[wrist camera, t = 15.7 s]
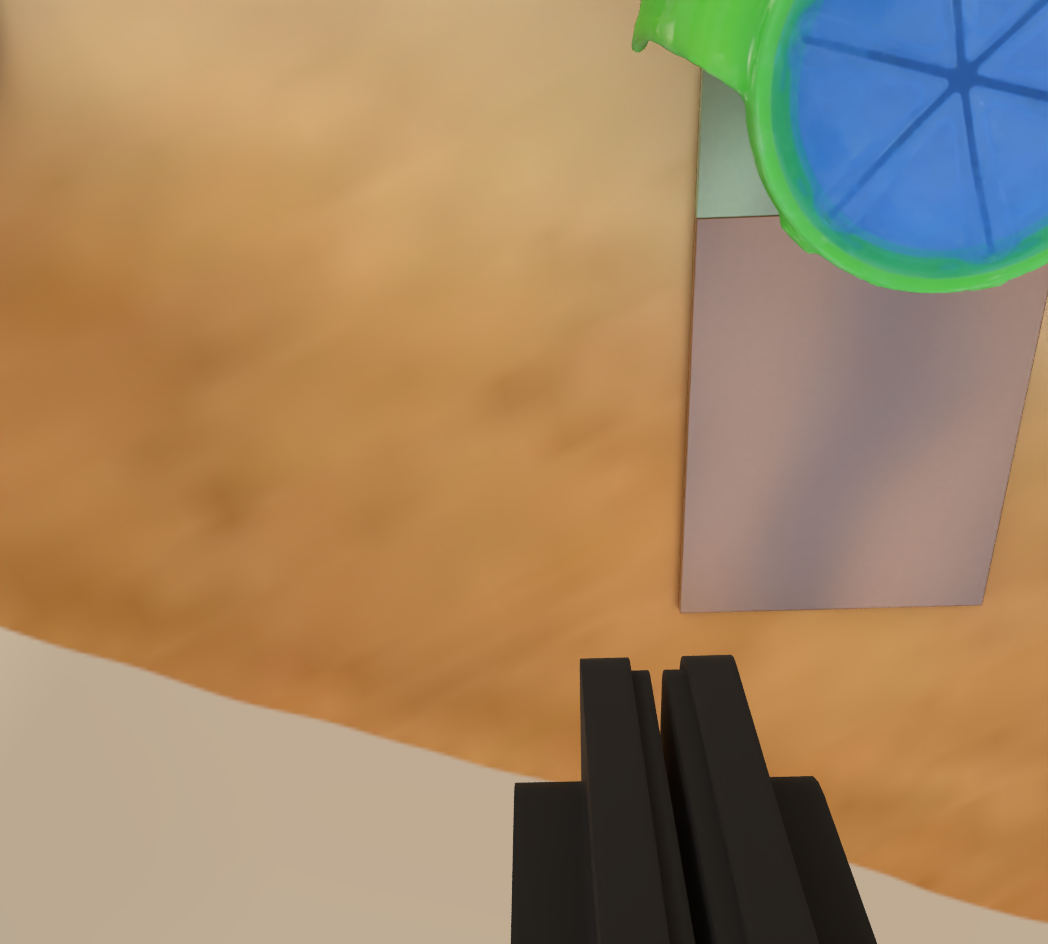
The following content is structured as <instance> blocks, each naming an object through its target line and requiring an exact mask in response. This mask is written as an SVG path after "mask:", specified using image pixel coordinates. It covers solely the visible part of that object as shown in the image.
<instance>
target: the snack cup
mask: <svg viewBox="0 0 1048 944" xmlns="http://www.w3.org/2000/svg"><path fill="white" fill-rule="evenodd" d="M648 41H653V42H655V43H657V44H659V45H661V46H663V47H664V48H665V49H667V50H669V51H670V52H672V53H674V54H675V55H678V56H681V57H683V58H686V59H687V60H689V61H690V62H692V63H693V64H695V65H697V66H698V67H700V68H702V69H703V70H705V71H706V72H707V73H708V74H710V75H712V76H714V77H716V78H718V79H719V80H721V81H722V82H723V83H724V84H726V85H727V86H729V87H730V88H732V89H734V90H735V91H736V92H737V93H738V94H739V95H740V96H741V97H742V99H743V102H744V105H745V110H746V125H747V130H748V137H749V142H750V147H751V152H752V154H753V158H754V162H755V165H756V168H757V171H758V174H759V177H760V179H761V181H762V184H763V186H764V188H765V190H766V192H767V194H768V196H769V198H770V199H771V201H772V203H773V204H774V206H775V208H776V209H777V211H778V213H779V218H780V225H781V227H782V229H783V230H784V231H785V232H786V233H787V234H788V235H789V237H790V238H791V239H792V240H793V241H794V242H795V243H796V244H797V245H798V246H799V247H801V248H802V249H803V250H804V251H805V252H807V253H809V254H815V253H816V254H818V255H820V256H822V257H823V258H825V259H826V260H828V261H829V262H830V263H832V264H833V265H835V266H836V267H838V268H840V269H842V270H844V271H846V272H847V273H849V274H851V275H854V276H856V277H857V278H859V279H861V280H865V281H867V282H868V283H870V284H872V285H875V286H877V287H884V288H888V289H893V290H899V291H906V292H914V293H952V292H960V291H967V290H969V291H976V290H981V289H987V288H992V287H998V286H1001V285H1003V284H1004V283H1006V282H1007V281H1008V280H1011V279H1014V278H1017V277H1020V276H1022V275H1024V274H1025V273H1028V272H1031V271H1034V270H1036V269H1038V268H1040V267H1042V266H1044V265H1046V264H1047V263H1048V0H641V5H640V11H639V15H638V18H637V21H636V24H635V29H634V34H633V39H632V50H634V51H635V52H641V51H642V50H643V49H645V47H646V45H647V43H648Z"/></svg>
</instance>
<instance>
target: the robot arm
mask: <svg viewBox="0 0 1048 944" xmlns="http://www.w3.org/2000/svg"><path fill="white" fill-rule="evenodd" d="M580 713H581V781H577V782H533V783H515V791H514V826H513V828H514V829H513V872H512V919H511V921H512V922H511V944H877V942H876V939H875V937H874V934H873V931H872V928H871V925H870V922H869V920H868V917H867V914H866V911H865V908H864V906H863V903H862V900H861V897H860V894H859V892H858V889H857V886H856V883H855V881H854V878H853V875H852V872H851V869H850V866H849V864H848V861H847V858H846V855H845V852H844V850H843V847H842V844H841V841H840V838H839V836H838V833H837V830H836V827H835V824H834V822H833V819H832V816H831V813H830V810H829V808H828V805H827V802H826V799H825V796H824V794H823V791H822V789H821V787H820V785H819V782H818V781H817V780H816V779H815V778H814V777H813V776H800V777H769V773H768V770H767V767H766V763H765V760H764V757H763V753H762V750H761V746H760V743H759V740H758V736H757V733H756V730H755V726H754V723H753V719H752V716H751V713H750V709H749V706H748V703H747V699H746V696H745V692H744V689H743V686H742V682H741V679H740V676H739V672H738V669H737V665H736V662H735V660H734V657H733V656H732V655H709V656H682V658H681V662H680V670H664V671H663V675H662V700H661V730H660V731H659V726H658V720H657V714H656V708H655V702H654V696H653V690H652V684H651V678H650V673H649V671H648V670H640V671H631V666H630V660H629V658H590V659H580Z"/></svg>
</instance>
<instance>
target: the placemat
mask: <svg viewBox="0 0 1048 944" xmlns="http://www.w3.org/2000/svg"><path fill="white" fill-rule="evenodd" d="M695 216H696V217H695V227H694V251H693V275H692V299H691V323H690V347H689V371H688V395H687V419H686V443H685V468H684V492H683V516H682V540H681V564H680V588H679V612H680V613H705V612H743V611H781V610H819V609H857V608H894V607H932V606H970V605H982V603H983V598H984V593H985V589H986V584H987V579H988V574H989V570H990V565H991V560H992V555H993V551H994V546H995V541H996V537H997V532H998V527H999V522H1000V518H1001V513H1002V508H1003V503H1004V499H1005V494H1006V489H1007V484H1008V480H1009V475H1010V470H1011V465H1012V461H1013V456H1014V451H1015V447H1016V442H1017V437H1018V432H1019V428H1020V423H1021V418H1022V413H1023V409H1024V404H1025V399H1026V394H1027V390H1028V385H1029V380H1030V376H1031V371H1032V366H1033V361H1034V357H1035V352H1036V347H1037V342H1038V338H1039V333H1040V328H1041V323H1042V319H1043V314H1044V309H1045V304H1046V300H1047V295H1048V263H1047V264H1046V265H1044V266H1042V267H1040V268H1038V269H1036V270H1034V271H1031V272H1028V273H1025V274H1024V275H1022V276H1020V277H1017V278H1014V279H1011V280H1008V281H1007V282H1006V283H1004V284H1003V285H1001V286H998V287H992V288H987V289H981V290H976V291H969V290H967V291H960V292H952V293H914V292H906V291H899V290H893V289H888V288H884V287H877V286H875V285H872V284H870V283H868V282H867V281H865V280H861V279H859V278H857V277H856V276H854V275H851V274H849V273H847V272H846V271H844V270H842V269H840V268H838V267H836V266H835V265H833V264H832V263H830V262H829V261H828V260H826V259H825V258H823V257H822V256H820V255H818V254H816V253H815V254H809V253H807V252H805V251H804V250H803V249H802V248H801V247H799V246H798V245H797V244H796V243H795V242H794V241H793V240H792V239H791V238H790V237H789V235H788V234H787V233H786V232H785V231H784V230H783V229H782V227H781V225H780V218H779V213H778V211H777V209H776V208H775V206H774V204H773V203H772V201H771V199H770V198H769V196H768V194H767V192H766V190H765V188H764V186H763V184H762V181H761V179H760V177H759V174H758V171H757V168H756V165H755V162H754V158H753V154H752V152H751V147H750V142H749V137H748V130H747V125H746V110H745V105H744V102H743V99H742V97H741V96H740V95H739V94H738V93H737V92H736V91H735V90H734V89H732V88H730V87H729V86H727V85H726V84H724V83H723V82H722V81H721V80H719V79H718V78H716V77H714V76H712V75H710V74H708V73H707V72H706V71H705V70H703V69H702V68H701V82H700V106H699V131H698V155H697V179H696V203H695Z"/></svg>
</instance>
